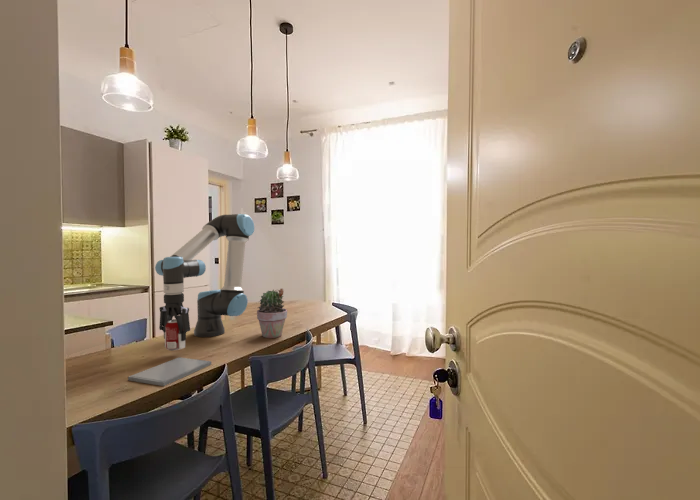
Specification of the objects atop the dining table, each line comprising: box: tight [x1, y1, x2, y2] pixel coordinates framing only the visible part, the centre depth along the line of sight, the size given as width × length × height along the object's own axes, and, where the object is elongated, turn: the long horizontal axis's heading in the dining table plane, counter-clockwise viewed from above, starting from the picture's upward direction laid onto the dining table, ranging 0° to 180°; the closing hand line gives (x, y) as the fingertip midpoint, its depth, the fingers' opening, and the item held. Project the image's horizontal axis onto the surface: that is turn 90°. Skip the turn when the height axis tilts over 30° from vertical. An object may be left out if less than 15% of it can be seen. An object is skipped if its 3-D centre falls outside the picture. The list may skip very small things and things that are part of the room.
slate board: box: [127, 356, 212, 387], centre depth 123 cm, size 22×16×1 cm
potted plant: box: [253, 288, 288, 339], centre depth 175 cm, size 18×20×25 cm
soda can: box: [165, 318, 180, 352], centre depth 141 cm, size 7×7×12 cm
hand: (175, 347), depth 141 cm, fingers closed on soda can, 7 cm apart
